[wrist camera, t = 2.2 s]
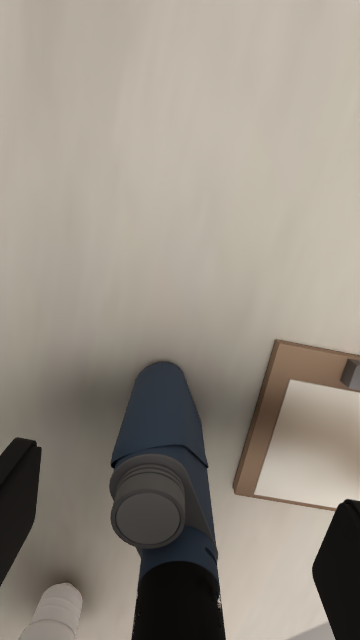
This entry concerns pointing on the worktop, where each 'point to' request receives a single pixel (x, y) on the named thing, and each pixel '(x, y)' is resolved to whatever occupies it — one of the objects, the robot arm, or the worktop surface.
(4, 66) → the worktop surface
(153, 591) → the vaping device
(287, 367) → the clipboard
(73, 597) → the lightbulb
